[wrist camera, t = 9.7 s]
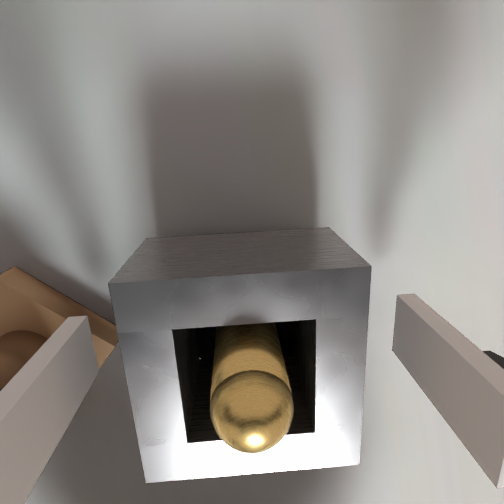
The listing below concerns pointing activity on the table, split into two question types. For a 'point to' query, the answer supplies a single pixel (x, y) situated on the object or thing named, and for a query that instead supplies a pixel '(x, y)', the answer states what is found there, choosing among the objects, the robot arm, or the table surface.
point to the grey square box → (237, 313)
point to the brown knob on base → (40, 321)
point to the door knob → (249, 383)
